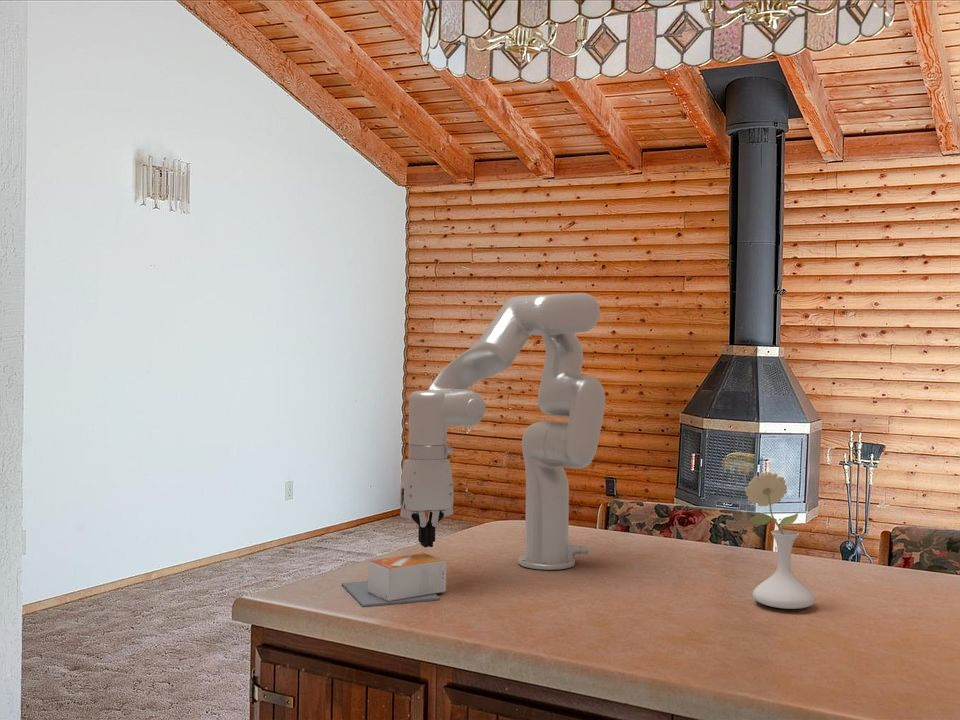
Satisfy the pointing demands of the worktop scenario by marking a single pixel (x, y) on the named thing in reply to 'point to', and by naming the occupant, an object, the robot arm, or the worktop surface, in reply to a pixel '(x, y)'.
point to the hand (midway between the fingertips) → (426, 545)
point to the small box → (406, 576)
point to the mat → (367, 599)
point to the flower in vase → (783, 583)
